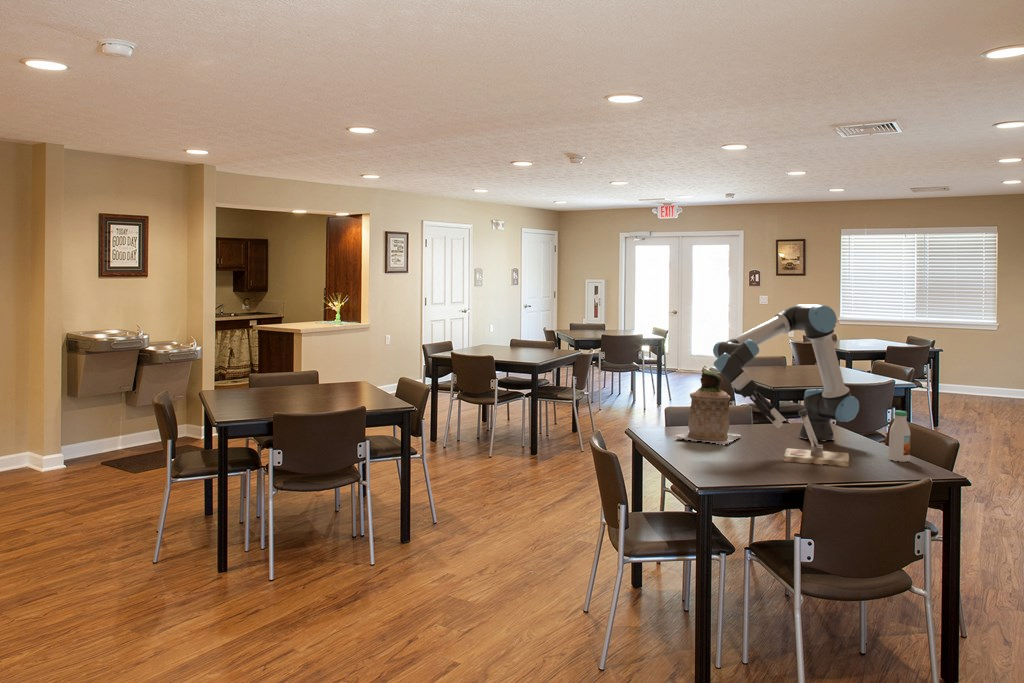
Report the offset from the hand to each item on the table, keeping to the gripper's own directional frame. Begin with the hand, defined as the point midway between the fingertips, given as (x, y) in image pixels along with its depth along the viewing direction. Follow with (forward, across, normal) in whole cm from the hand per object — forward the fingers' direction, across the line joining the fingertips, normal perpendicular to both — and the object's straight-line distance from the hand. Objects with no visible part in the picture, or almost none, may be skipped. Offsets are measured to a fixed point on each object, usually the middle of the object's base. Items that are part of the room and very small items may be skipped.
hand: (781, 424), depth 331 cm
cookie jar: (-14, -27, -33) cm, 45 cm away
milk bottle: (+41, -13, +22) cm, 48 cm away
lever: (+18, 0, +2) cm, 18 cm away
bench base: (+19, 0, 0) cm, 19 cm away
